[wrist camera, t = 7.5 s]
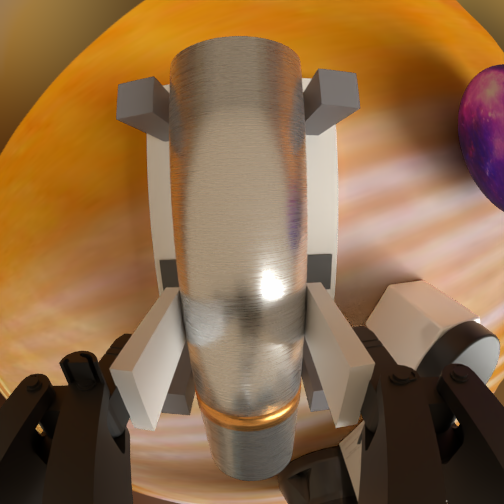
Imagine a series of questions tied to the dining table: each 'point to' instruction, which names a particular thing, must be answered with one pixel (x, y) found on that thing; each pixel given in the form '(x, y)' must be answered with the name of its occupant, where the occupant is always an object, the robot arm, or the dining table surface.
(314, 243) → the cradle stand
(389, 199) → the dining table surface
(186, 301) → the steel tube
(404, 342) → the jar
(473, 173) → the decorative orb
